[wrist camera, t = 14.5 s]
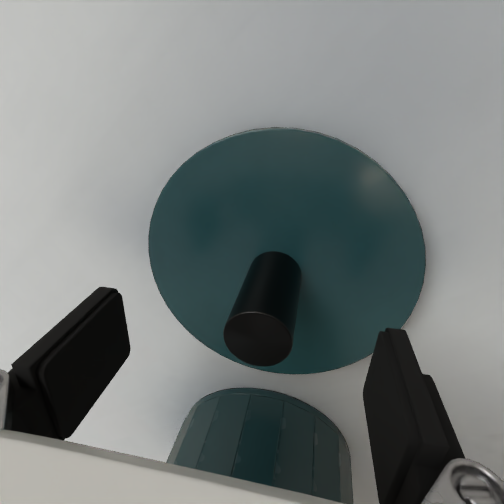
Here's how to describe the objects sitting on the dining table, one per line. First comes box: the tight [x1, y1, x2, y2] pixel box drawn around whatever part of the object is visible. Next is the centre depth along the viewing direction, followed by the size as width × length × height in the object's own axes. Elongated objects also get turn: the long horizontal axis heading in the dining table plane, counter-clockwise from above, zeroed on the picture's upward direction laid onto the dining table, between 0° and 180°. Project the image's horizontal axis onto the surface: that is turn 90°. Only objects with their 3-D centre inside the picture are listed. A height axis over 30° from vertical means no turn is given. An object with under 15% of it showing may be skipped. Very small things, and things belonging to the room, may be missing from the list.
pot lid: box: [149, 127, 426, 374], centre depth 13 cm, size 13×13×6 cm
